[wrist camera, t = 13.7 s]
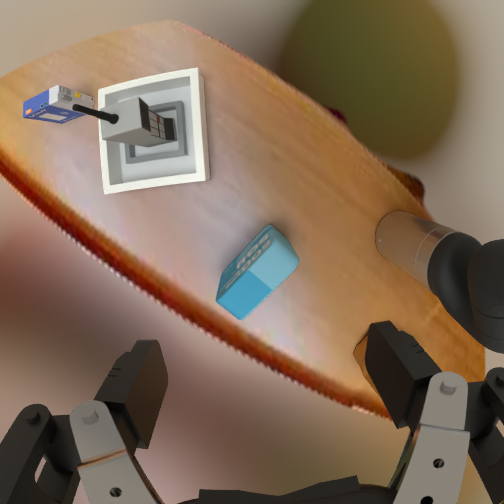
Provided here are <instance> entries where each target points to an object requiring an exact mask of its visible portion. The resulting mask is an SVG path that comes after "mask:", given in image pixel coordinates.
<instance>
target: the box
mask: <svg viewBox="0 0 504 504" xmlns="http://www.w3.org/2000/svg"><path fill="white" fill-rule="evenodd" d="M134 97H140V98H141V99H142V100H143V101H144V102H145V103H147V104H148V105H149V106H148V109H150V110H152V111H153V112H155V113H157V114H159V115H160V116H162V117H165V118H174V120H175V128H176V136H177V141H175V142H170V143H166V144H161V145H157V146H153V147H143V146H137V145H131V144H125V143H119V142H113V141H106V140H102V133H101V123H100V119H99V140H100V156H101V168H102V179H103V188H104V194H110V193H116V192H122V191H129V190H135V189H142V188H149V187H156V186H163V185H171V184H179V183H188V182H197V181H206V180H209V179H211V175H210V163H209V151H208V138H207V124H206V109H205V93H204V79H203V77H202V75H201V73H200V71H199V69H198V68H192V69H185V70H179V71H173V72H168V73H163V74H158V75H153V76H148V77H144V78H139V79H135V80H131V81H127V82H123V83H120V84H116V85H112V86H109V87H105V88H102V89H99V90H98V111H99V110H100V109H101V108H104V107H106V106H109V105H112V104H115V103H118V102H122V101H125V100H128V99H131V98H134Z"/></svg>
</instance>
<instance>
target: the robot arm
mask: <svg viewBox="0 0 504 504" xmlns="http://www.w3.org/2000/svg"><path fill="white" fill-rule="evenodd" d="M375 242H376V246H377V249H378V251H379V252H380V254H381V255H382V256H383V257H385V258H386V259H388V260H389V261H390V262H392V263H393V264H394V265H396V266H397V267H398V268H400V269H401V270H402V271H404V272H405V273H407V274H408V275H409V276H411V277H412V278H413V279H415V280H416V281H417V282H419V283H420V284H421V285H422V286H424V287H425V288H427V289H428V290H429V291H430V292H432V293H433V294H434V295H436V296H437V297H438V298H439V299H440V301H441V303H442V305H443V306H444V308H445V309H446V311H447V312H448V313H449V314H450V315H451V316H452V317H453V318H454V319H455V320H456V321H457V322H458V323H459V324H460V325H461V326H462V327H463V328H464V329H465V330H466V331H467V332H468V333H469V334H470V335H471V336H472V337H473V338H474V339H476V340H477V341H478V342H479V343H480V344H482V345H483V346H484V347H486V348H488V349H489V350H492V351H494V352H497V353H503V354H504V239H500V240H495V241H490V242H488V243H486V244H484V245H481V244H480V243H479V242H478V241H477V240H476V239H475V238H473V237H472V236H469V235H467V234H464V233H462V232H459V231H456V230H454V229H451V228H449V227H446V226H443V225H440V224H438V223H435V222H432V221H429V220H427V219H424V218H421V217H418V216H415V215H413V214H410V213H407V212H403V211H394V212H391V213H389V214H387V215H386V216H385V217H384V218H383V219H382V220H381V221H380V223H379V225H378V227H377V230H376V235H375ZM365 366H366V370H367V372H368V374H369V376H370V378H371V380H372V381H373V383H374V385H375V387H376V389H377V391H378V393H379V395H380V397H381V399H382V400H383V402H384V404H385V406H386V408H387V410H388V412H389V414H390V416H391V418H392V420H393V422H394V424H395V426H396V428H397V429H399V428H403V427H406V426H409V428H410V432H409V434H408V437H407V440H406V443H405V446H404V448H403V451H402V454H401V457H400V459H399V462H398V464H397V467H396V469H395V471H394V474H393V476H392V478H391V480H390V482H389V484H388V486H387V487H383V486H379V485H372V484H359V482H358V479H357V475H356V476H351V477H347V478H343V479H338V480H332V481H327V482H321V483H318V484H315V485H312V486H310V487H307V488H304V489H301V490H298V491H295V492H292V493H289V494H286V495H282V496H274V495H265V494H259V493H251V492H246V491H241V490H204V489H200V491H199V498H197V499H192V500H188V501H184V502H181V503H178V504H456V503H457V499H458V496H459V492H460V488H461V484H462V480H463V475H464V470H465V464H466V459H467V453H468V454H469V456H470V458H471V460H472V462H473V463H474V465H475V467H476V469H477V471H478V473H479V475H480V477H481V479H482V481H483V483H484V485H485V488H486V490H487V492H488V494H489V496H490V498H491V501H492V503H493V504H504V437H503V436H502V434H501V433H500V431H499V430H498V428H497V427H496V424H497V423H498V421H499V419H500V420H501V422H502V423H503V425H504V368H501V367H497V368H493V369H491V370H490V371H489V372H488V373H487V375H486V377H485V380H484V381H480V382H470V383H467V382H466V381H465V379H464V378H463V377H461V376H460V375H458V374H456V373H453V372H442V370H441V369H440V368H439V367H438V366H437V364H436V363H435V362H434V361H433V360H432V358H431V357H430V356H429V355H428V354H427V353H426V352H424V349H423V348H422V347H421V346H419V343H418V342H417V341H416V340H415V339H414V337H413V336H411V335H409V334H407V333H406V332H404V331H398V329H397V328H396V327H395V326H394V325H393V324H392V322H391V321H383V322H377V323H371V324H370V326H369V331H368V338H367V345H366V352H365ZM167 386H168V374H167V369H166V366H165V362H164V359H163V355H162V351H161V348H160V345H159V343H158V341H157V340H137V342H136V343H135V345H134V347H133V348H132V350H131V352H126V353H124V354H123V355H122V356H121V357H119V358H118V359H117V360H116V362H115V364H114V365H113V367H112V370H110V372H109V374H108V377H106V379H105V381H104V382H103V384H102V386H101V387H100V389H99V391H98V393H97V394H96V396H95V398H94V400H92V401H86V402H83V403H80V404H79V405H77V406H76V407H75V408H74V409H73V410H72V412H71V413H70V415H56V416H52V415H51V413H50V411H49V410H48V408H47V407H46V406H44V405H42V404H33V405H29V406H27V407H25V408H24V409H23V410H22V411H21V412H20V413H19V415H18V416H17V418H16V420H15V421H14V422H13V424H12V426H11V427H10V429H9V430H8V432H7V434H6V435H5V437H4V439H3V440H2V442H1V444H0V504H72V503H73V500H74V497H75V494H76V491H77V487H78V485H79V482H80V479H81V480H82V483H83V486H84V489H85V492H86V494H87V497H88V499H89V502H90V504H165V503H164V502H163V501H162V499H161V498H160V496H159V495H158V493H157V492H156V490H155V489H154V487H153V486H152V484H151V482H150V481H149V479H148V478H147V476H146V474H145V473H144V471H143V469H142V467H141V466H140V464H139V462H138V460H137V459H136V457H135V455H134V454H135V451H136V448H142V449H148V447H149V444H150V440H151V437H152V433H153V430H154V427H155V424H156V420H157V417H158V414H159V411H160V408H161V405H162V401H163V398H164V395H165V392H166V389H167ZM42 457H43V458H44V459H45V460H46V463H45V465H44V467H43V469H42V472H41V474H40V476H39V478H38V481H37V483H36V482H35V472H36V470H37V467H38V465H39V463H40V461H41V459H42Z"/></svg>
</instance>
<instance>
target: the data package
mask: <svg viewBox="0 0 504 504" xmlns="http://www.w3.org/2000/svg"><path fill="white" fill-rule="evenodd" d="M298 263H299V258H298V256H297V254H296V252H295V251H294V249H293V247H292V245H291V243H290V242H289V241H288V240H287V239H286V238H285V237H284V236H283V235H282V234H281V233H280V232H278V231H277V230H276V229H275V228H274V227H273V226H272V225H267V226H266V227H265V228H264V229H263V230H262V231H261V232H260V233H259V234H258V235H257V236H256V237H255V238H254V239H253V240H252V242H251V243H250V244H249V245H248V246H247V247H246V248H245V249H244V250H243V251H242V252H241V253H240V254H239V255H238V256H237V258H236V259H235V260H234V261H233V262H232V263H231V264H230V265H229V266H228V267H227V268H226V269H225V271H224V272H223V274H222V275H221V279H220V283H219V287H218V292H217V296H216V302H217V303H218V304H220V305H221V306H222V307H223V308H225V309H226V310H227V311H228V312H230V313H231V314H232V315H234V316H235V317H236V318H237V319H239V320H243V319H245V318H246V317H247V316H248V315H249V314H250V313H251V312H252V311H253V310H254V309H255V308H256V307H257V306H258V305H259V304H260V303H262V302H263V301H264V300H265V299H266V298H267V297H268V296H269V295H270V294H271V293H272V292H273V291H274V290H275V289H276V288H277V287H278V286H279V285H280V284H281V283H282V282H283V281H284V280H285V279H286V278H287V277H288V276H289V275H290V274H291V273H292V272H293V271H294V270H295V268H296V267H297V265H298Z"/></svg>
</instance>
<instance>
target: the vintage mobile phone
mask: <svg viewBox="0 0 504 504" xmlns="http://www.w3.org/2000/svg"><path fill="white" fill-rule="evenodd" d="M148 106H149V105H148V104H147V103H145V102H144V101H143V100H142V99H141V98H140V97H134V98H131V99H128V100H125V101H122V102H118V103H115V104H112V105H109V106H106V107H104V108H101V109H100V110H99V111H97V110H94V109H91V108H88V107H85V106H82V105H78V104H74V105H73V106H72V110H73V111H77V112H81V113H85V114H88V115H92V116H95V117H97V118H99V119H100V123H101V133H102V140H106V141H113V142H119V143H125V144H131V145H137V146H143V147H153V146H157V145H161V144H166V143H170V142H175V141H177V136H176V128H175V120H174V118H165V117H162V116H160V115H159V114H157V113H155V112H153V111H152V110H150V109H148Z"/></svg>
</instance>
